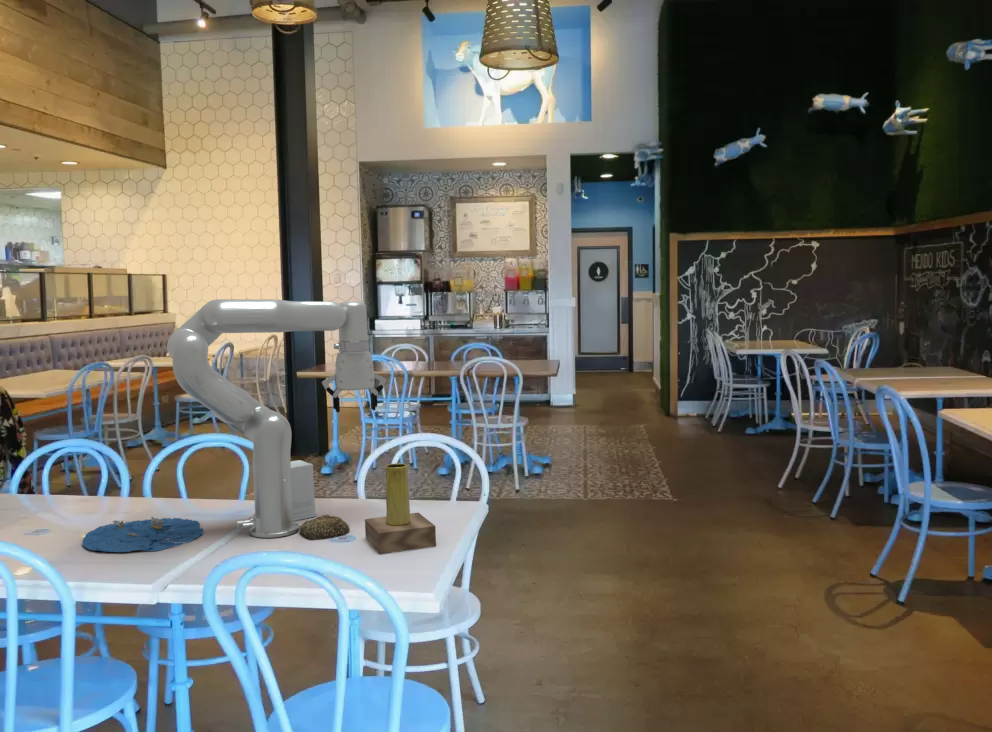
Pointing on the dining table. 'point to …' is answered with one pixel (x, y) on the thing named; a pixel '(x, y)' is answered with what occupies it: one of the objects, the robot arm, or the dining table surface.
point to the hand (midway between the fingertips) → (355, 410)
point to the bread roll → (324, 528)
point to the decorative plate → (142, 535)
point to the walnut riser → (400, 534)
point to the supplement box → (302, 490)
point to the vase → (397, 495)
